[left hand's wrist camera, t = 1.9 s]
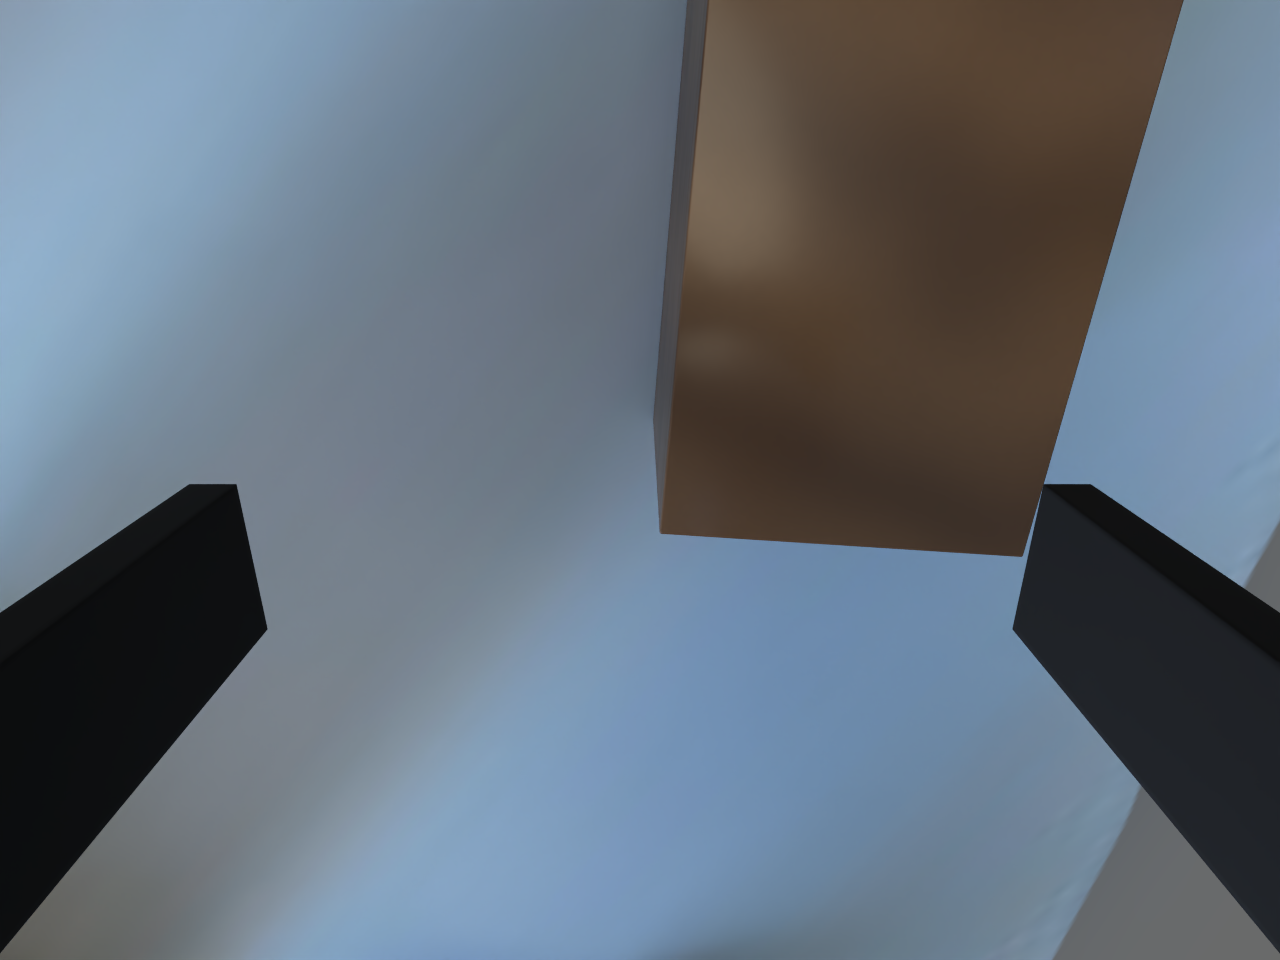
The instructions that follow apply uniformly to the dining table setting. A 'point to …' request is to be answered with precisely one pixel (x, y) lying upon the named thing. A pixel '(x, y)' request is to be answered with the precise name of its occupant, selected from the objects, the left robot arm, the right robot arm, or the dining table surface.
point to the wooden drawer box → (889, 259)
